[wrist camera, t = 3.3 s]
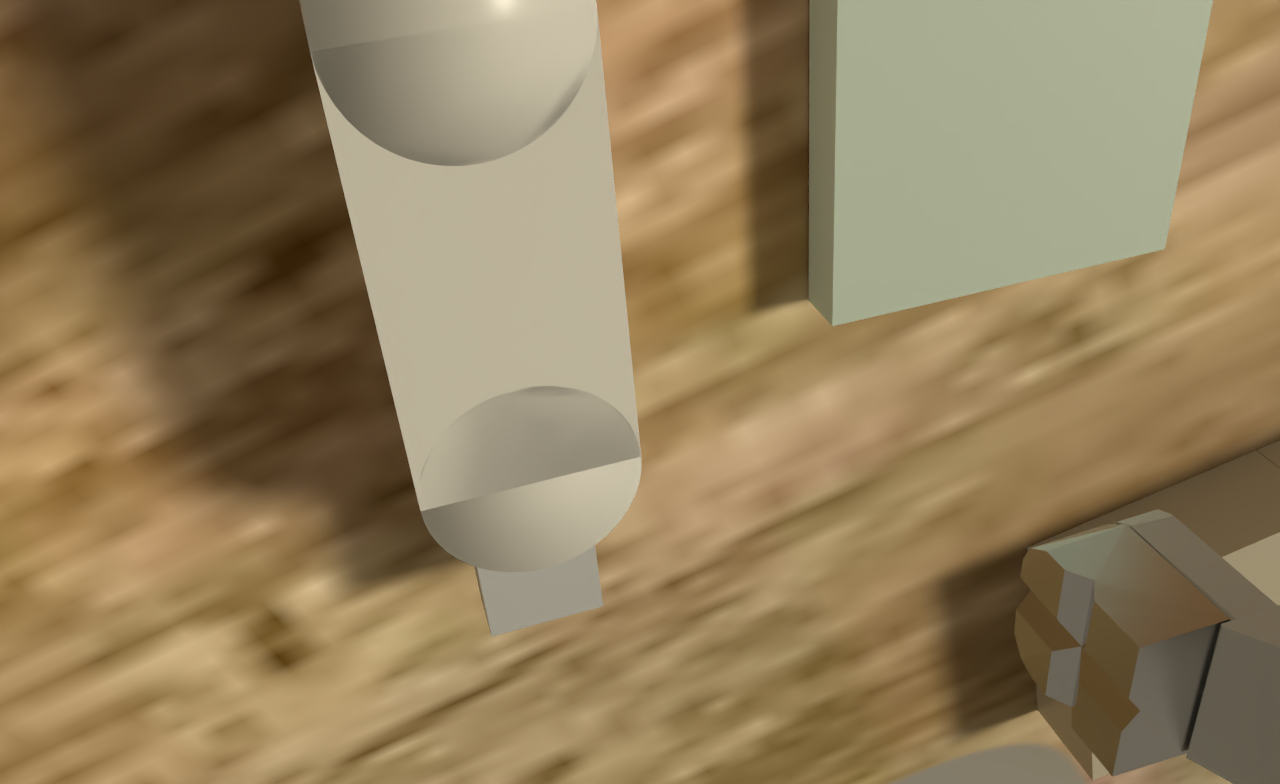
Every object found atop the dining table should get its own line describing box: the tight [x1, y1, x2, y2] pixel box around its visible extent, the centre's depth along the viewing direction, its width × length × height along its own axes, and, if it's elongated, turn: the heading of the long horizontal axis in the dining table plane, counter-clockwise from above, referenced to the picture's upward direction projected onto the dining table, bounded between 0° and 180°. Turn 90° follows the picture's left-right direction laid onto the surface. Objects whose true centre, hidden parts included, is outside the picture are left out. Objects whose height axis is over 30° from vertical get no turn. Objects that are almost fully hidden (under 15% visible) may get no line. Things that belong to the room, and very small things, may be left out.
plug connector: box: [299, 0, 641, 636], centre depth 20 cm, size 15×4×4 cm, turn 5°
